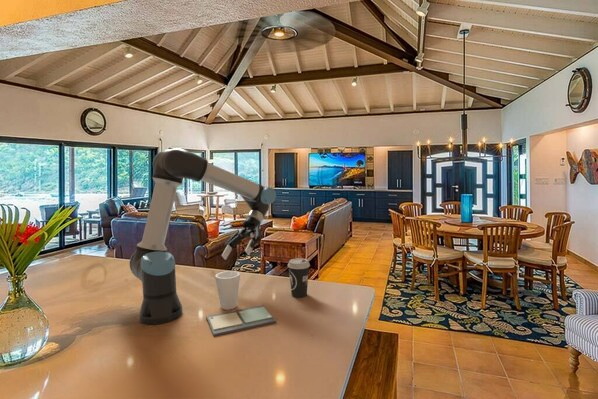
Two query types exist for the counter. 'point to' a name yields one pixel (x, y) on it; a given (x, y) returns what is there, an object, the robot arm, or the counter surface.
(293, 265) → the coffee cup
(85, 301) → the counter surface
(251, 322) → the tile board
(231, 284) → the foam cup
